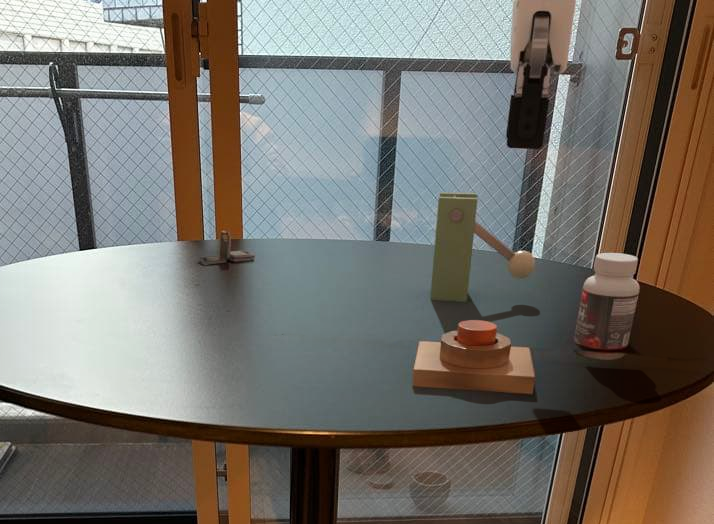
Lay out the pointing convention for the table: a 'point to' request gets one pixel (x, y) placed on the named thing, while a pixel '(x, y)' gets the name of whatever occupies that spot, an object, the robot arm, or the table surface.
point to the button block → (474, 366)
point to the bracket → (453, 246)
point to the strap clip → (227, 253)
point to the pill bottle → (607, 306)
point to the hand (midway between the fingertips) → (522, 143)
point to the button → (476, 333)
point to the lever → (508, 254)
